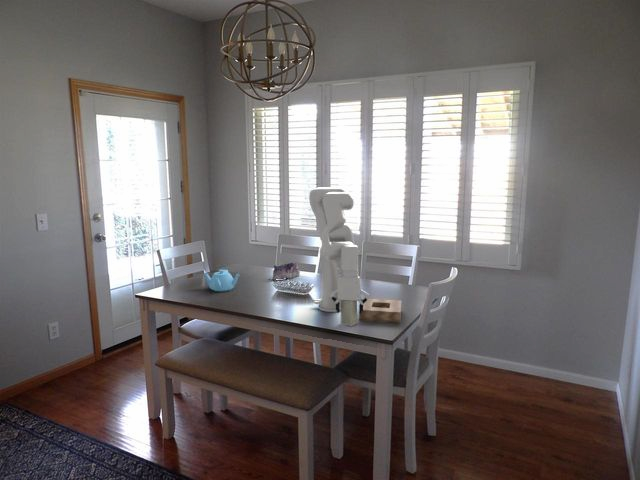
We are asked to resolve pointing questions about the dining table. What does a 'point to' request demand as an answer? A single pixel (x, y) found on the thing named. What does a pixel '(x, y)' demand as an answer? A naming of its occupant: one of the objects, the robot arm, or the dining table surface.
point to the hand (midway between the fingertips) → (349, 312)
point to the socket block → (381, 311)
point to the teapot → (221, 280)
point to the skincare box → (348, 312)
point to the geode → (286, 271)
